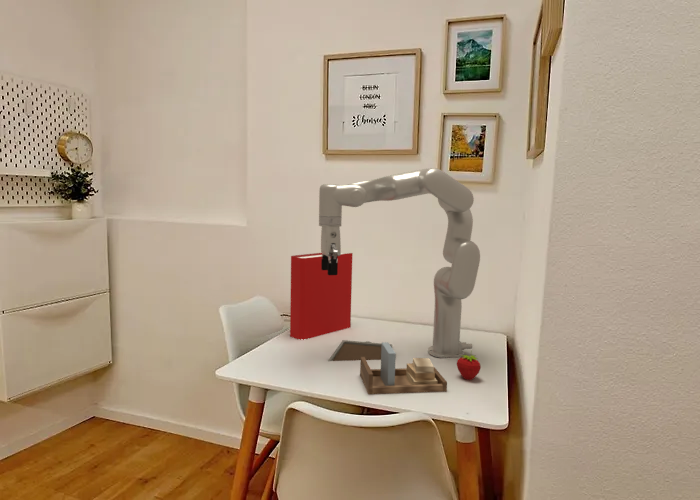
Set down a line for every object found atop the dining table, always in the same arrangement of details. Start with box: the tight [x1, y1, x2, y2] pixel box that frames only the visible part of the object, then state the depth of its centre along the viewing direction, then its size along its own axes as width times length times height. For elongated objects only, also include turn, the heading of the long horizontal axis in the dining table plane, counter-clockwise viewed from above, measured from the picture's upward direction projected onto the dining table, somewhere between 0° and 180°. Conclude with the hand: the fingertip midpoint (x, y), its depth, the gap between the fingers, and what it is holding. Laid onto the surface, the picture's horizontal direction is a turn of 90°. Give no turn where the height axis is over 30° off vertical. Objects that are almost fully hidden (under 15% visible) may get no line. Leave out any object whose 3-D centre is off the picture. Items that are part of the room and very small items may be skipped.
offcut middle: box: [406, 362, 435, 381], centre depth 145 cm, size 6×8×2 cm
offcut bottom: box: [406, 371, 438, 385], centre depth 145 cm, size 7×9×2 cm
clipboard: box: [327, 339, 393, 362], centre depth 171 cm, size 19×2×30 cm
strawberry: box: [456, 349, 482, 381], centre depth 149 cm, size 6×8×10 cm
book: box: [289, 252, 353, 341], centre depth 196 cm, size 27×8×32 cm, turn 136°
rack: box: [359, 357, 448, 395], centre depth 144 cm, size 23×14×7 cm, turn 98°
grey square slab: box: [380, 341, 397, 386], centre depth 143 cm, size 2×10×11 cm, turn 8°
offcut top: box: [412, 357, 435, 373], centre depth 144 cm, size 5×7×2 cm
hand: (329, 272), depth 162 cm, fingers open, 9 cm apart
